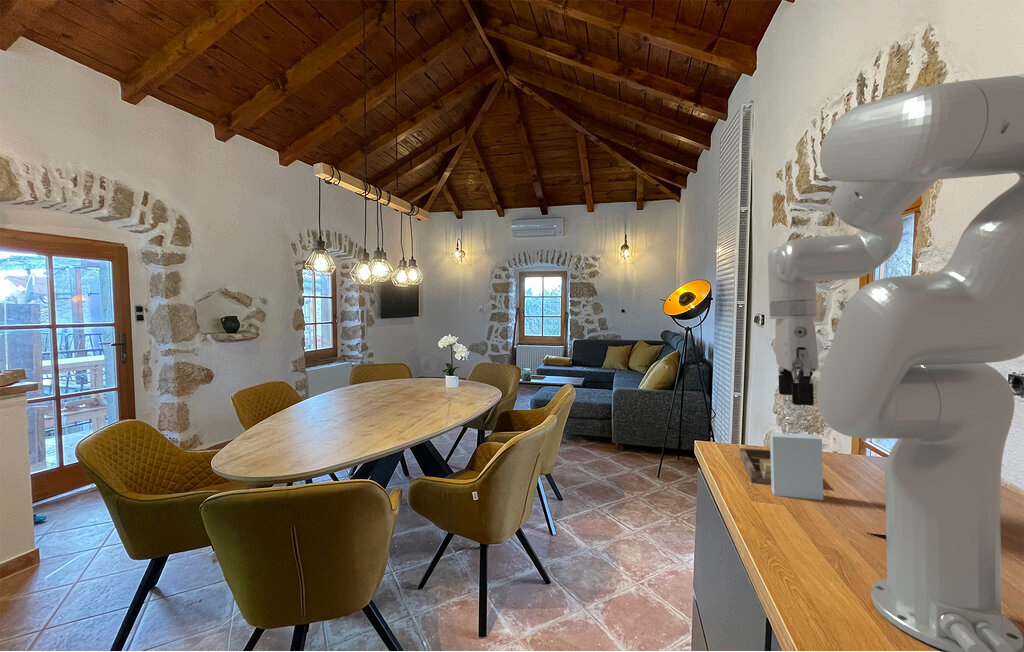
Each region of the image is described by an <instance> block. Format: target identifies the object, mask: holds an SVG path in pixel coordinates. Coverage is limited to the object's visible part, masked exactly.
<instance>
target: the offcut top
mask: <svg viewBox="0 0 1024 652" xmlns="http://www.w3.org/2000/svg"><path fill="white" fill-rule="evenodd" d="M760 468H761V469H762V470H763V471H764V472H765V473H766V474H771V460H763V459H760Z"/></svg>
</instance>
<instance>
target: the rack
mask: <svg viewBox="0 0 1024 652" xmlns="http://www.w3.org/2000/svg"><path fill="white" fill-rule="evenodd" d="M739 450H740V451H739V452H740V453H739V454H740V461H741V463H742V466H743V467H744V469H745V471H746V474H747V475H748V477H749V479H750V481H751V483H752V484H761V485H771V478H764V477H762V476H761V468H760V459H763V460H771V452H770V449H759V448H758V449H757V448H742V447H740V449H739Z"/></svg>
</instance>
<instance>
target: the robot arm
mask: <svg viewBox="0 0 1024 652" xmlns="http://www.w3.org/2000/svg"><path fill="white" fill-rule="evenodd" d="M819 163H820V168H821V170H822V172H823V174H824V175H825V176H826V177H828V178H829V179H831V180H833V181H837V182H840V183H839V184H838V185H837V187H836V188H835V189H834V191H833V193H832V196H831V207H832V210H833V212H834V214H835V215H836V216H837V218H839V219H840V220H841V221H842V222H843V223H845V224H847V225H848V226H850V227H853V228H855V229H857V230H859V231H857V232H856V233H854V234H851V235H850V234H849V235H847V234H846V235H832V236H831V235H830V236H816V237H804V238H803V237H802V238H796V239H791V240H788V241H787V242H784V244H782V245H781V246H777V247H775V248H773V249H771V250H770V251H769V252H768V254H767V270H768V275H767V276H768V302H769V303H768V304H769V306H768V307H769V319H770V320H774V319H775V328H774V329H775V359H776V364H777V366H779V367H778V376H777V377H778V394H779V395H782V396H784V395H785V396H791V402H792V404H793V405H794V406H814V405H815V404H814V403H815V402H814V378H813V374H814V372H817V371H818V370H819V369H820V365H819V353H818V352H819V351H818V342H817V341H818V340H817V333H816V332H817V331H816V325H815V320H814V318H817V317H818V311H817V310H818V309H817V305H818V304H817V282H819V281H820V282H822V281H839V280H855V279H859V278H861V277H864V276H865V277H866V276H867V275H869V274H871V273H872V272H873V271H875V270H877V269H878V268H879V267H880V266H881V265H883V264H884V263H885V262H886V261H887V260H889V259H890V258H891V257H892V256H893V255H894V254H895V253H896V251H897V250H898V248H899V246H900V243H901V241H902V237H903V234H904V220H903V219H904V218H903V215H902V214H903V213H904V212H905V211H907V209H909V208H910V207H911V206H912V205H913V204H914V203H915V202H916V201H917V200H918V199H919V198H920V197H921V196H922V195H923V194H924V193H926V192H927V191H928V190H929V189H930V188H931V187H932V186H933V185H934V184H935V183H936V182H937V181H938V180H949V179H959V178H960V179H962V178H974V177H987V176H996V175H1007V174H1008V175H1009V174H1016V175H1018V177H1019V179H1018V181H1017V182H1016V183H1015V184H1013V185H1012V186H1011V187H1009V188H1008V189H1006V190H1005V191H1004V192H1002V193H1001V194H1000V195H997V197H995V198H994V199H993V200H992V201H991V202H989V203H988V204H987V205H986V206H984V208H983V209H982V210H981V211H980V212H978V214H977V215H975V217H974V218H973V219H972V220H971V221H970V222H969V224H968V225H967V226H966V228H965V229H964V230H963V232H962V234H961V236H960V238H959V240H958V242H957V245H956V248H955V249H954V252H953V253H952V255H951V257H950V258H949V260H948V261H947V263H946V264H945V265H944V266H943V267H942V268H941V269H940V270H938V271H935V272H934V273H930V274H914V275H899V276H897V275H896V276H888V277H885V278H880V279H877V280H874V281H871V282H869V283H867V284H865V285H863V286H862V287H861V288H860V289H858V290H857V291H856V292H855V293H854V294H853V295H852V296H851V297H850V299H849V300H848V301H847V303H846V305H845V306H844V308H843V311H842V314H841V316H840V318H839V321H838V324H837V327H836V330H835V332H834V335H833V338H832V341H831V343H830V346H829V349H828V352H827V355H826V358H825V361H824V364H823V365H822V369H821V373H820V375H819V379H818V385H817V392H816V398H817V399H816V400H817V401H816V402H817V407H818V410H819V413H820V415H821V417H822V419H823V421H824V422H825V424H826V425H828V427H829V428H831V429H832V430H833V431H835V432H837V433H838V434H842V435H844V436H847V437H852V438H856V439H874V440H875V439H876V440H877V439H884V440H885V439H887V440H889V439H891V440H892V439H893V440H894V439H897V440H896V442H895V443H894V445H893V446H892V448H891V449H890V452H889V453H888V456H887V458H886V459H887V460H886V464H885V468H884V469H885V470H884V473H885V474H884V478H885V479H884V480H885V481H884V483H885V484H884V486H885V487H884V488H885V491H884V493H885V494H884V495H885V499H884V500H885V535H886V541H885V543H886V546H885V547H886V549H885V550H886V577H885V578H882V579H879V580H877V581H875V582H874V583H873V584H872V585H871V590H870V592H871V593H870V595H871V601H872V603H873V605H874V607H875V608H876V610H877V611H878V612H879V613H880V614H881V615H882V616H883V617H884V618H885V619H886V620H887V621H888V622H890V623H891V624H892V625H894V626H895V627H897V628H898V629H899V630H901V631H903V632H904V633H907V634H908V635H909V636H911V637H913V638H915V639H917V640H919V641H922V642H923V643H926V644H928V645H930V646H933V647H935V648H937V649H939V650H942V651H945V652H1024V636H1023V635H1022V632H1021V631H1020V629H1019V628H1018V627H1017V626H1016V625H1015V624H1014V623H1013V622H1012V621H1011V620H1010V619H1009V618H1007V616H1005V615H1004V614H1002V549H1001V548H1002V544H1001V541H1002V540H1001V533H1002V531H1001V529H1002V528H1001V527H1002V526H1001V525H1002V524H1001V523H1002V522H1001V521H1002V520H1001V503H1002V502H1001V501H1002V499H1001V498H1002V497H1001V496H1002V495H1001V493H1002V492H1001V490H1002V489H1001V487H1002V486H1001V485H1002V484H1001V483H1002V482H1001V481H1002V464H1003V456H1004V450H1005V445H1006V442H1007V438H1008V435H1009V431H1010V429H1011V425H1012V422H1013V420H1014V419H1013V418H1014V414H1015V407H1016V406H1015V405H1016V404H1015V397H1014V396H1015V395H1014V393H1013V392H1014V391H1013V388H1012V387H1011V385H1010V383H1009V382H1008V380H1007V378H1005V377H1004V375H1003V374H1002V373H1001V372H999V371H998V370H997V369H996V368H995V367H992V366H991V365H989V364H990V363H998V362H999V363H1000V362H1006V361H1011V360H1014V359H1018V358H1019V357H1022V356H1023V355H1024V73H1021V74H1015V75H1014V74H1013V75H1006V76H997V77H989V78H988V77H987V78H979V79H978V78H977V79H970V80H969V79H968V80H961V81H959V80H958V81H953V82H945V83H944V82H943V83H936V84H931V85H926V86H923V87H919V88H914V89H911V90H907V91H903V92H901V93H900V92H899V93H897V94H894V95H890V96H886V97H884V98H880V99H876V100H873V101H870V102H866V103H861V104H859V105H856V106H854V107H852V108H850V109H848V110H847V111H845V112H844V113H842V114H841V115H840V116H839V117H838V118H837V119H836V120H835V121H834V123H833V124H832V125H831V126H830V127H829V129H828V131H826V134H825V136H824V138H823V140H822V143H821V146H820V150H819ZM988 363H989V364H988Z"/></svg>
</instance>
